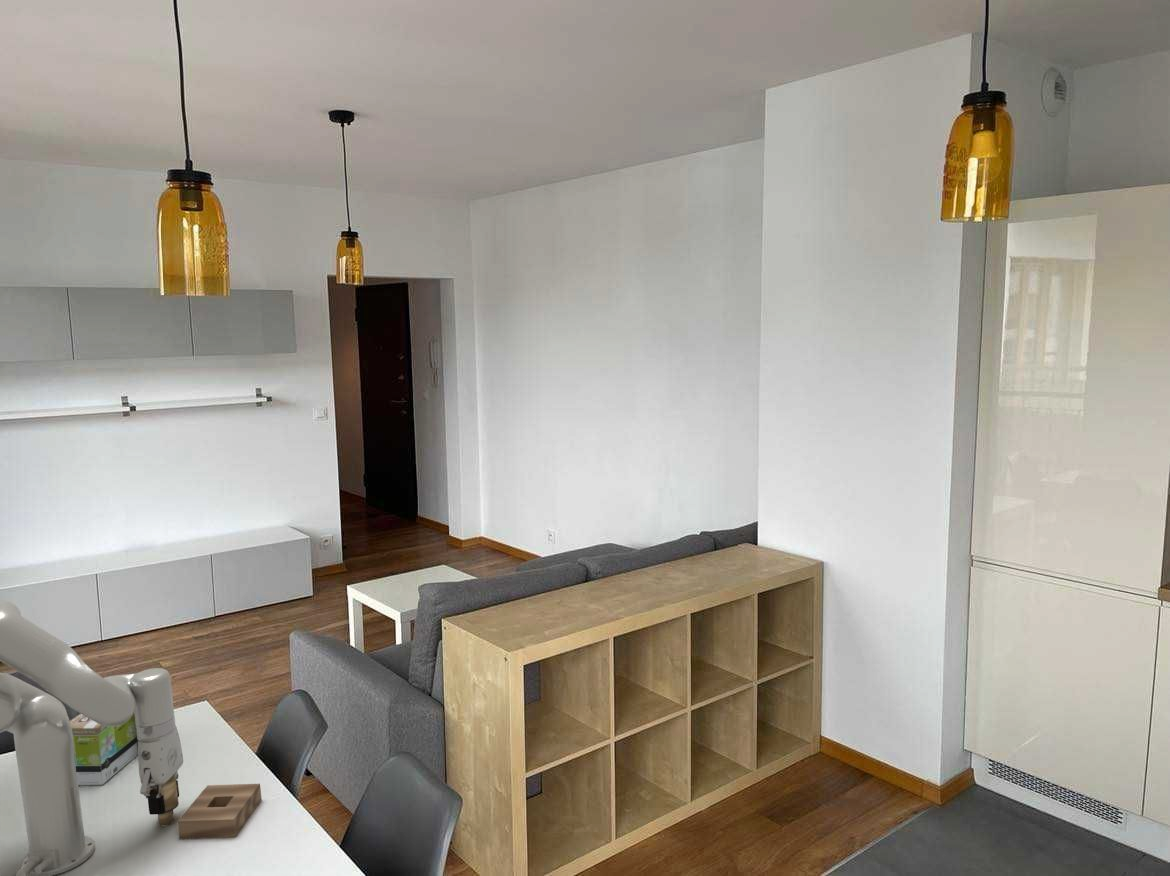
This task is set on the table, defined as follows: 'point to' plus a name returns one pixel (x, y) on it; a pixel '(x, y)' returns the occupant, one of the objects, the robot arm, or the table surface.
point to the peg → (168, 801)
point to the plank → (219, 811)
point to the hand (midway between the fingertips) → (164, 804)
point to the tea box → (102, 749)
